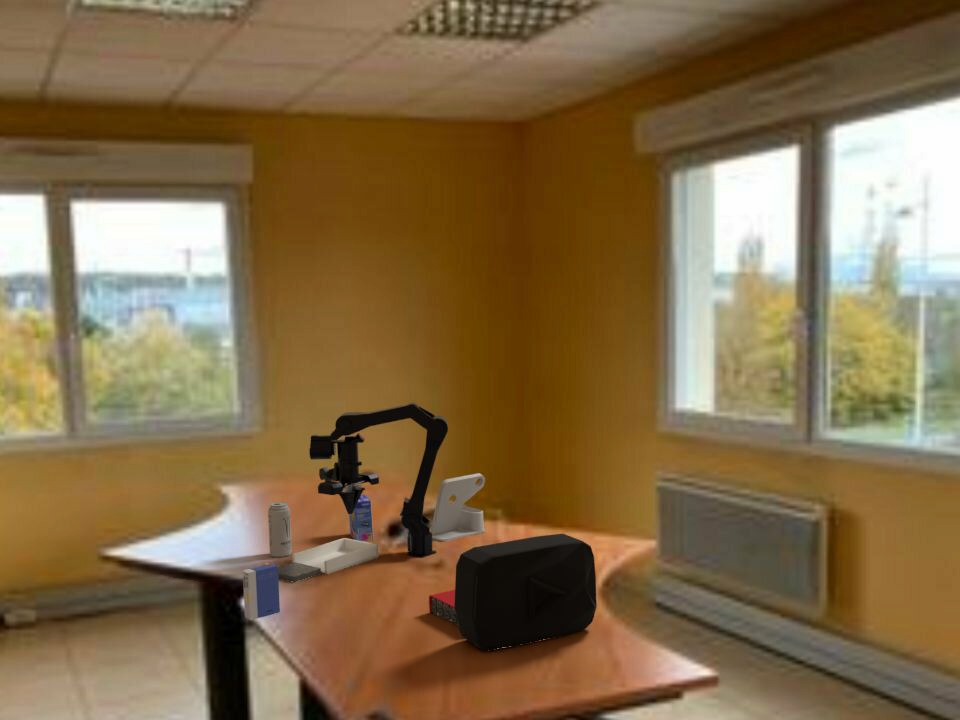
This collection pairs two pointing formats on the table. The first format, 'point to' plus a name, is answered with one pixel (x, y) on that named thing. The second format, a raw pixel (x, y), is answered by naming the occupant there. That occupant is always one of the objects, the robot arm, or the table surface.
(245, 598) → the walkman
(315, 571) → the cover plate
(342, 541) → the tray
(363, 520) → the ink cartridge box
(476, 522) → the phone holder
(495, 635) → the black hard case
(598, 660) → the table surface
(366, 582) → the table surface
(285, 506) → the energy drink can
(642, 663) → the table surface
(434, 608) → the red device housing
